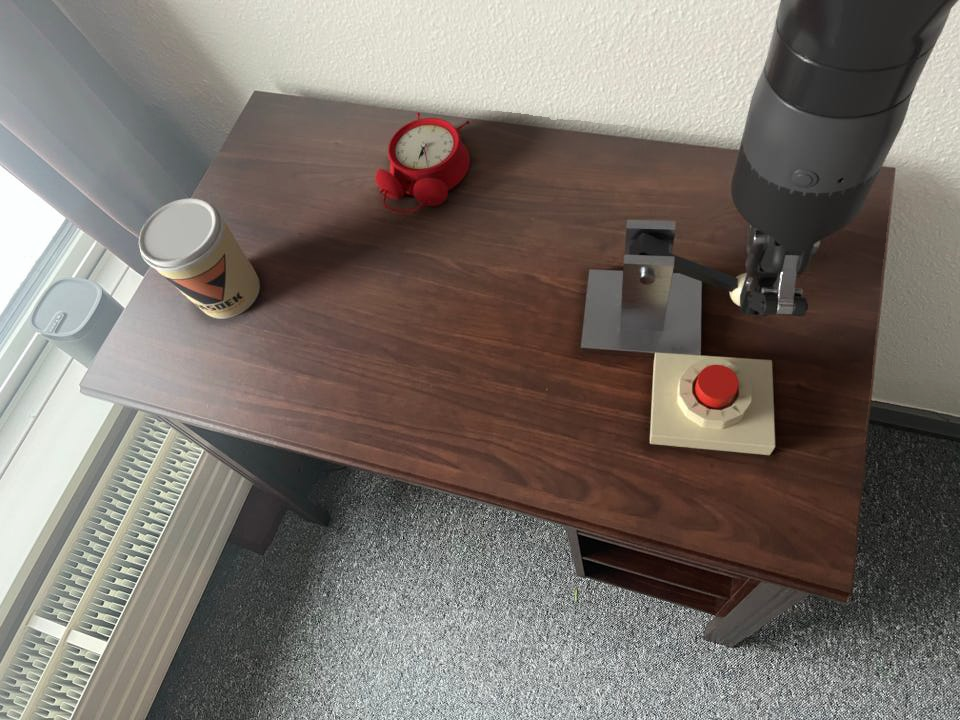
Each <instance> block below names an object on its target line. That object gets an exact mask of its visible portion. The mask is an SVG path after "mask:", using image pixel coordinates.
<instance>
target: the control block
mask: <svg viewBox="0 0 960 720" xmlns="http://www.w3.org/2000/svg"><path fill="white" fill-rule="evenodd" d="M710 365H723V366H726V367H728V368H730V369H731V370H732V371H733V372H734V373H735V374H736V376H737V378H738V381H739V386H738V390H737V392H736V394H735V397H734V399H733V401H732V402H731V403H730V404H729V405H727V406H725V407H722V408H711V407H708V406H706V405H704V404H703V403H701V402H700V401H699V399H698V398H697V396H696V393H695V385H696V382H697V379H698V375H699V373H700V372H701V371H702V370H703V369H704V368H705V367H707V366H710ZM652 370H653V371H652V389H651V408H650V427H649V428H650V429H649V444H650V445H659V446H670V447H680V448H690V449H700V450H701V449H702V450H711V451H721V452H733V453H734V452H735V453H742V454H743V453H744V454H754V455H764V456H771V454H772V453H773V451H774V450H775V448H776V428H775V427H776V426H775V404H774V402H775V401H774V376H773V373H774V372H773V360H771V359H760V358H759V359H757V358H743V357H728V356H715V355H702V354H701V355H686V354H671V353H657V352H656V353H655V358H653V369H652Z"/></svg>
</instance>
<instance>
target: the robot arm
mask: <svg viewBox="0 0 960 720" xmlns="http://www.w3.org/2000/svg"><path fill="white" fill-rule="evenodd" d="M958 2H959V0H780V3H779V5H778V9H777V13H776V17H775V18H776V19H775V23H774V27H773V30H772V35H771V39H770V43H769V46H768V51H767V54H766V59H765V62H764V65H763V69H762V70H761V73H760V75H759V78H758V80H757V82H756V84H755V87H754V90H753V93H752V96H751V100H750V102H749V107H748V111H747V115H746V119H745V124H744V128H743V132H742V137H741V141H740V145H739V150H738V154H737V158H736V161H735V166H734V170H733V175H732V179H731V185H730V193H731V198H732V201H733V204H734V207H735V208H736V211H738V213H739V215H740V216H741V217H742V218H743V220H744V221H746V222H747V223H748V227H747V231H746V234H745V248H746V252H747V257H746V259H745V262H744V267H745V268H746V270H745V271H746V273H747V275H746V278H745V281H744V284H743V287H742V291H741V294H740V306H739V307H740V308H739V312H740V313H741V314H742V315H745V316H746V317H760V318H761V317H763V318H766V317H768V315H769V316H770V315H771V316H789V317H791V316H792V317H805V315H806V313H807V311H808V309H809V303H808V300H807V297H806V296H803V293H804V290H803V288H796V282H797V278H799V277H800V276H801V275H802V273H804V272H805V271H806V270H807V269H808V267H809V265H810V262H811V257H813V256H814V255H816V253H817V251H818V249H819V247H820V244H821V242H822V240H824V239H825V238H828V237H830V236H832V235H834V234H836V233H838V232H839V231H841V230H843V229H845V228H846V227H847V226H849V225H850V224H851V223H852V222H853V221H854V219H856V217H857V216H858V215H859V213H860V211H861V209H862V207H863V205H864V203H865V201H866V200H867V197H868V195H869V193H870V191H871V190H872V187H873V185H874V183H875V181H876V179H877V177H878V175H879V173H880V171H881V169H882V167H883V166H884V163H885V161H886V159H887V157H888V155H889V153H890V151H891V149H892V147H893V145H894V143H895V141H896V139H897V137H898V135H899V133H900V131H901V129H902V126H903V124H904V122H905V119H906V116H907V113H908V110H909V105H910V101H911V99H912V95H913V94H914V91H915V89H916V86H917V83H918V81H919V79H920V77H921V75H922V73H923V71H924V69H925V67H926V65H927V64H928V63H927V62H928V60H929V59H930V57H931V54H932V52H933V50H934V48H935V46H936V45H937V43H938V40H939V38H940V36H941V35H942V33H943V30H944V28H945V25H946V24H947V21H948V19H949V15H950V13H951V12H952V11H951V10H952V9H953V7H954V6H956V4H957V3H958Z"/></svg>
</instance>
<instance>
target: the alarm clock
mask: <svg viewBox="0 0 960 720" xmlns="http://www.w3.org/2000/svg"><path fill="white" fill-rule="evenodd" d="M415 115H416V116H417V119H415V120H412V121H409V122H408V123H406V124H404V125H403V126H401V127H400V128H399V129H398V130H397V131H396V132H395V133H394V134H393V135H392V137H391V139H390V141H389V143H388V148H387V149H388V151H387V157H388V160H389V162H390V165H389V171H388V170H386V169H384V168H380V169H378V170H377V171H376V172H375V177H374V179H375V184H376V185H377V187H378V189H379V193H380V194H383V197H382V204H383V205H384V207H385V208H387V210H390V211H393V212H395V213H400V214H401V213H403V214H410V213H415V212H416V211H419V209H420V208H422V206H427V207H436V206H440V205H442V204H444V202H445V201H446V200H447V198H448V193H449V191H450V190H452V189H453V188H455V187H457V185H459V184H460V183H461V182H462V181H463V180H464V178H465V177H466V175H467V174H468V171H469V169H470V164H471V159H470V153H469V150H468V148H467V146H466V145H465V143H463V141H462V139H461V135H460V133H459V131H460V130H461V129H463V127H465V126H466V125H469V124H470V123H471V122H470V120H466V121H465V123H463V124H461V125H460V126H458V127H457V128H456V127H455V126H454V125H453V124H452V123H451V122H450V121H449V122H448V121H447V120H444V119H443V118H442V119H441V118H437V117H425V118H420V116H421V113H420V112H416V114H415ZM405 194H406V195H409V196H412V197H414V199H415V200H416V201H417V203H419V205H418V206H417V207H416V208H414V209H410V210H409V209H408V210H402V209H396V208H394V207H393V208H392V207H390V206H388V204H387V202H386V197H387V198H389V199H392V200H397V201H398V200H400V199H403V197H404V196H405Z"/></svg>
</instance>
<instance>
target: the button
mask: <svg viewBox="0 0 960 720" xmlns="http://www.w3.org/2000/svg"><path fill="white" fill-rule="evenodd" d="M738 386H739V381H738V378H737V376H736V374H735V373H734V372H733V371H732V370H731V369H730V368H728V367H726V366H723V365H710V366H707V367H705V368H704V369H703V370H702V371H701V372H700V373H699V375H698V379H697V382H696V385H695V393H696V396H697V398H698V399H699V401H700V402H701V403H703V404H704V405H706V406H708V407H711V408H722V407H725V406H727V405H729V404H730V403H731V402H732V401H733V399H734V397H735V394H736V392H737V390H738Z"/></svg>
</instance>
